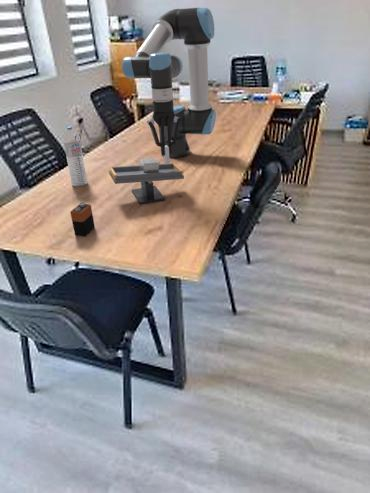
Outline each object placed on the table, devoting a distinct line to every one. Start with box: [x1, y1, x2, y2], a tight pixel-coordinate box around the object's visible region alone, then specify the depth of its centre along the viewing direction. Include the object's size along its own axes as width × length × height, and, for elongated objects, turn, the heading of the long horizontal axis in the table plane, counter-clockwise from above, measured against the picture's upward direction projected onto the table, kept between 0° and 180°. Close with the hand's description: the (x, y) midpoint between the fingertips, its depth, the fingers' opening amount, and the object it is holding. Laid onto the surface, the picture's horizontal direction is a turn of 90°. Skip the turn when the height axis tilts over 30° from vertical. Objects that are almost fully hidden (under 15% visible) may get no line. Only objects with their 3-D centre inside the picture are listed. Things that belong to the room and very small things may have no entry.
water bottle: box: [62, 126, 88, 188], centre depth 170 cm, size 7×7×25 cm
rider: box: [139, 157, 160, 173], centre depth 156 cm, size 6×6×5 cm
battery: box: [70, 201, 95, 237], centre depth 136 cm, size 4×7×10 cm, turn 163°
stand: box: [131, 181, 166, 206], centre depth 160 cm, size 10×14×7 cm
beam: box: [108, 162, 185, 185], centre depth 157 cm, size 27×12×4 cm, turn 110°
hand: (166, 162), depth 158 cm, fingers closed
